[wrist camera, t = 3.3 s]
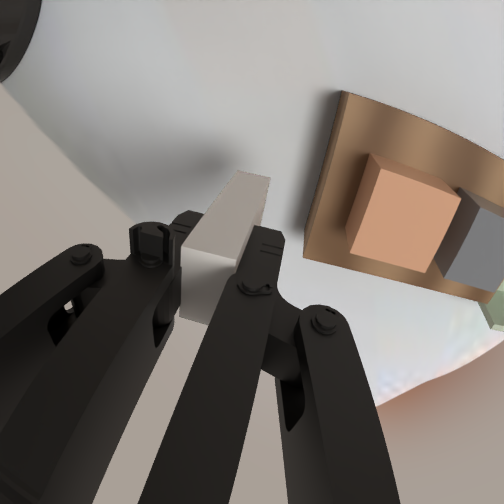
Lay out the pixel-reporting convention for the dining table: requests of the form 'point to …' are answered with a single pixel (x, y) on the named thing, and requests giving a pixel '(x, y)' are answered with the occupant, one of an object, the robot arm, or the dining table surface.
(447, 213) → the peach square block
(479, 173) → the walnut board
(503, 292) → the tray
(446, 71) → the dining table surface
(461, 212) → the grey square block
